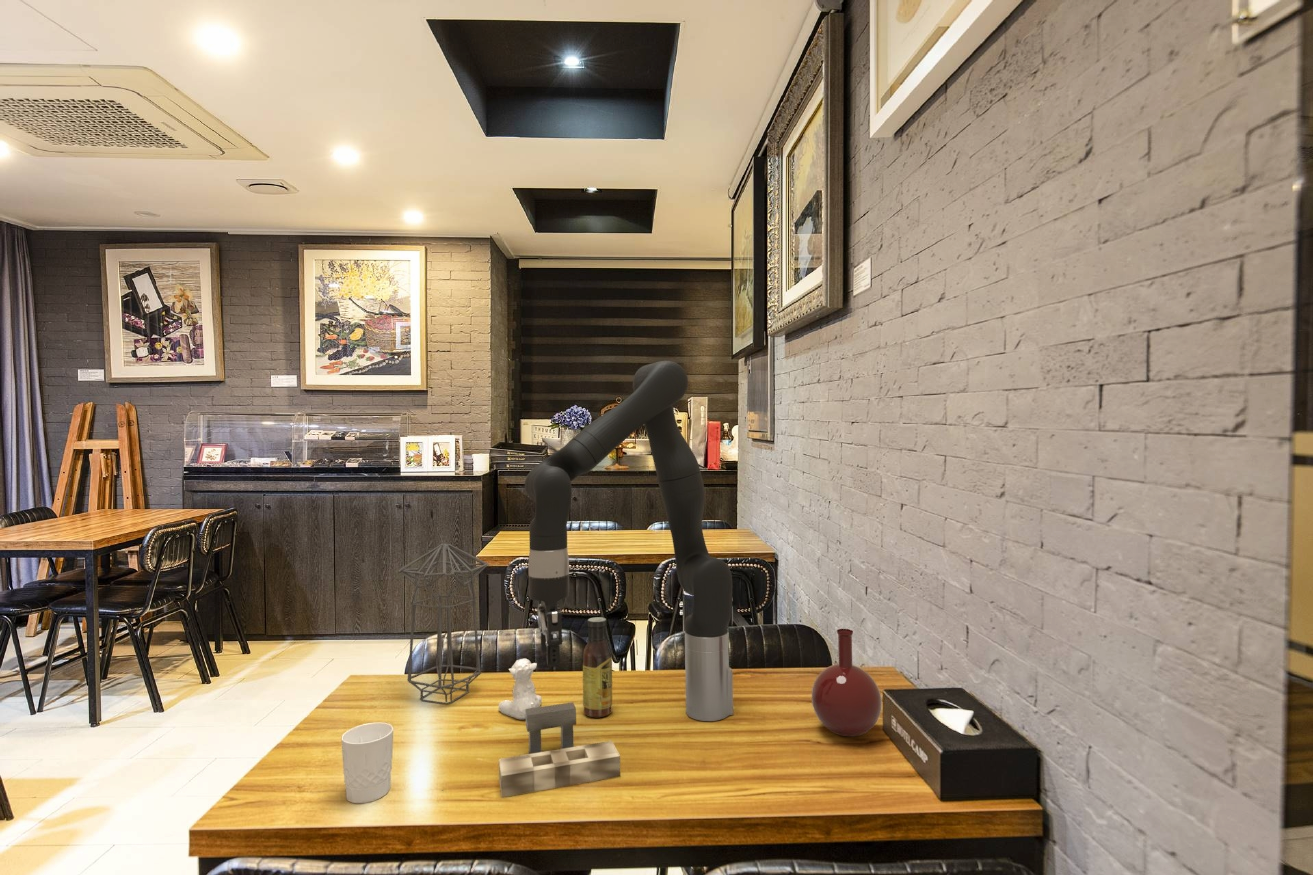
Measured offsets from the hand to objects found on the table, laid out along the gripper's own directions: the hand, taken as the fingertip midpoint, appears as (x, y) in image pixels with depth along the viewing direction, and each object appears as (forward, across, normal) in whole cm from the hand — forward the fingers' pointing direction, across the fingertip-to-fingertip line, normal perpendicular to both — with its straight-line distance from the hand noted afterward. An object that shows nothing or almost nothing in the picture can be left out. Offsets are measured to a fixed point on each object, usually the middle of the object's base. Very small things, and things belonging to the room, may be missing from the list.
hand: (549, 658), depth 120 cm
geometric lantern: (+18, +36, +19) cm, 44 cm away
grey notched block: (+17, 0, 0) cm, 17 cm away
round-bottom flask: (+17, -12, -56) cm, 60 cm away
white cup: (+18, -4, +31) cm, 36 cm away
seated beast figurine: (+18, +19, +3) cm, 26 cm away
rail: (+17, -10, 0) cm, 20 cm away
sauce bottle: (+18, +14, -12) cm, 25 cm away
